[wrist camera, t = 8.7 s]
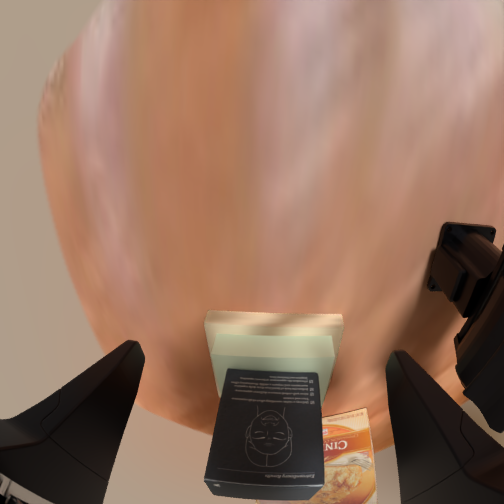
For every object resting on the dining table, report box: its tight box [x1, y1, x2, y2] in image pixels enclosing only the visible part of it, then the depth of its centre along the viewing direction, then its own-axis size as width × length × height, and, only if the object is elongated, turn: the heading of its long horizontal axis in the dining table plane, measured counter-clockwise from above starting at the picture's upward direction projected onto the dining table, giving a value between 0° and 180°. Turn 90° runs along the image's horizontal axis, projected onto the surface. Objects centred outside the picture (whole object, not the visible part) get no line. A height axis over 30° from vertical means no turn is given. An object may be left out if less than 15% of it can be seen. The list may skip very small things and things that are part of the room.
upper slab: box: [211, 334, 335, 409], centre depth 25 cm, size 10×10×2 cm
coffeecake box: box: [256, 408, 378, 504], centre depth 26 cm, size 15×7×20 cm, turn 113°
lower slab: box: [204, 310, 344, 399], centre depth 27 cm, size 12×12×2 cm
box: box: [204, 368, 325, 501], centre depth 19 cm, size 8×6×11 cm
